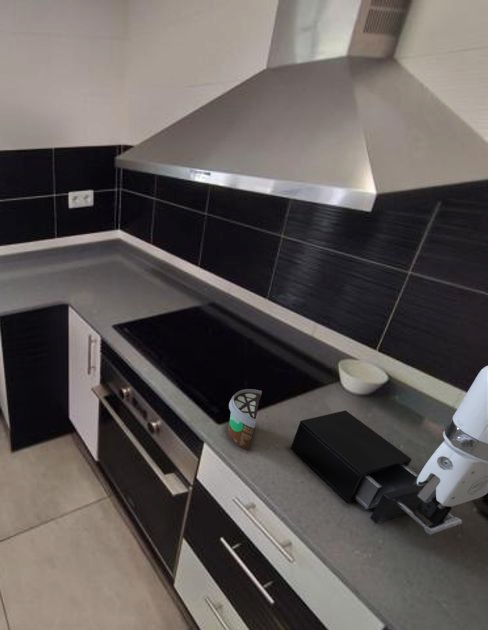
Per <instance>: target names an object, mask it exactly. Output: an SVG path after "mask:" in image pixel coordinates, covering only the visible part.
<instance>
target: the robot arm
mask: <svg viewBox="0 0 488 630" xmlns="http://www.w3.org/2000/svg"><path fill="white" fill-rule="evenodd" d="M442 436H443V439H444V440H443V441H442V442H441V443H440V445H439V446H438V447H437V449H435V451H434V452H433V454H432V455H431V456H430V458H429V459H428V460H427V462H426V463H425V464H424V466H423V468H422V469H421V471H420V472H419V474H418V475H419V476H418V478H417V480H416V484H417V485H418V486H424V485H425V487H424V488H423V489H422V490H421V491H420V493H419V494H418V495H417V497H418V498H420V499H421V501H420V503H419V505H418V506H417V508H416V509H417V510H416V511H417V512H418V513H419V514H421V515H422V516H423V517H424V518H425V519H426V520H427V521H429V522H430V523H431V524H432V525H433V524H436V523H439V522H442V521H444V520H446V518H447V517H446V516H447V515H448V514H449V513H450V512H451V511H452V510H453V507H454V506H458V505H461V504H465V503H468V502H471V501H475V500H477V499H479V498H482V497H484V496H485V495H487V494H488V365H486V366H484V367H483V368H481V370H480V371H479V372H478V374H477V376H476V377H475V379H474V381H473V382H472V383H471V385H470V387H469V388H468V390H467V392H466V394H465V396H464V397H463V399H462V401H461V402H460V404H459V405H458V408H457V409H456V411H455V412H454V414H453V416H452V417H451V419H450V420H449V422H448V424H447V425H446V427H445V429H444V430H443V432H442Z"/></svg>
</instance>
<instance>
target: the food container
mask: <svg viewBox="0 0 488 630" xmlns="http://www.w3.org/2000/svg"><path fill="white" fill-rule="evenodd" d="M262 393H263V391H262V390H259V389H252V388H251V389H250V388H246V389H241V390H239V391H237V392H235V394H234V395H232V397H231V398H230V400H229V403H228V409H229V412H230V417H229V422H228V429H227V435H228V436H229V439H230V440H231V441H232V442H233V443H234V444H235V445H236V446H237V447H239V448H241V449H243V450H246V451H248V450H249V446H250V443H251V440H252V437H253V433H254V430H255V427H256V423H257V415H258V410H259V409H258V408H259V403H260V399H261V397H262Z"/></svg>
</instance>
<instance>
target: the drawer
mask: <svg viewBox="0 0 488 630" xmlns="http://www.w3.org/2000/svg"><path fill="white" fill-rule="evenodd" d="M418 476H419V474H418V473H417V472H415V471H414V470H413V469H411V468H410V467H409V466H408V467H407V466H406V465H405V464H401V465H397V466H394V467H390V468H387V469H383V470H380V471H376V472H372V473H369V474H365V475H363V477H362V479H361V481H360V483H359V485H358V487H357V489H356V490H355V492H354V494H353V497H354V498H355V499H356V501H357V502H358V503H359V504H360V505H361V506H362V507H363V508H364V509H365V510H366V511H367V510H369V509H373V508H374V509H373V512H372V513H371V515H370V517H369V519H370V520H371V521H372V522H373V523H374V524H379V523H381V522H385V521H388V520H391V519H394V518H397V517H401V516H403V515H406V514H407V515H409V516H410V517H411V518H412V519H413V520H414V521H415V522H417V523H418V524H419V525H420V526H421V527H422V528H423V530H424V532H425V533H426V534H428V535H429V536H431V535H435V534H438V533H440V532H443V531H446V530H449V529H452V528H455V527H458V526H460V525H462V524H463V521H462V519H461V517H459V516H454V515H452V513H450V512H449V514H448V515H447V516H446V518H447V519H444V521H442V522H439V523H436V524H433V523H432V524H427V523H426V522H425V521H424V520H423V519H422V518H421V517H419V516H418V515H417V514H416V513H415V511H417V509H416V508H417V506H418V505H419V503H420V501H421V499H420V498H418V497H417V495H418V494H419V493H420V491H421V490H422V489H423V488H424V487H425V485H424V486H418V485H417V478H418Z"/></svg>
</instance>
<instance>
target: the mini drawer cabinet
mask: <svg viewBox="0 0 488 630" xmlns="http://www.w3.org/2000/svg"><path fill="white" fill-rule="evenodd" d="M290 450H291V452H293V453H294V454H295V455H296V457H298V458H299V459H300V460H301V461H302V462H303V463H304V464H305V465H306V466H307V467H309V469H311V470H312V472H313V473H315V474H316V475H317V476H318V477H319V478H320V479H321V480H322V481H323V482H324V483H325V484H326V485H327V486H328V487H329V488H330V489H331V490H332V491H333V492H334V493H335V494H336V495H337V496H338V497H339V498H340V499H341V500H343V501H344V502H345V504H348V503H352V502H356V501H357V500H356V499H355V498H354V497H353V494H354V492H355V490H356V489H357V487H358V485H359V483H360V481H361V479H362V477H363V475H365V474H369V473H372V472H376V471H380V470H383V469H387V468H390V467H394V466H397V465H401V464H405V465H406V466H407V467H409V465H410V463H411V462H412V458H411V457H410V456H409V455H407V454H405V453H404V452H403V451H402V450H401V449H399V448H398V447H396V445H393V444H392V443H391V442H390V441H388V440H387V439H385V438H384V437H383V436H381V435H380V434H379V433H378V432H376V431H375V430H373V429H372V428H370V427H369V426H368V425H366V424H365V422H362V421H361V420H360V419H359V418H357V417H356V416H354V415H352V413H350V412H349V411H347V410H340V411H336V412H333V413H327V414H323V415H319V416H315V417H311V418H310V417H309V418H306V419H301V420H300V421H299V424H298V427H297V429H296V432H295V435H294V438H293V441H292V443H291V447H290Z"/></svg>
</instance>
